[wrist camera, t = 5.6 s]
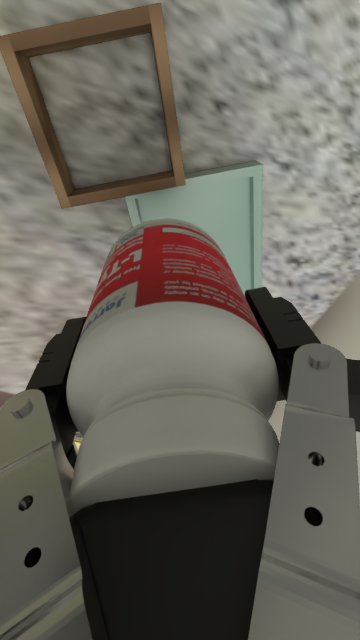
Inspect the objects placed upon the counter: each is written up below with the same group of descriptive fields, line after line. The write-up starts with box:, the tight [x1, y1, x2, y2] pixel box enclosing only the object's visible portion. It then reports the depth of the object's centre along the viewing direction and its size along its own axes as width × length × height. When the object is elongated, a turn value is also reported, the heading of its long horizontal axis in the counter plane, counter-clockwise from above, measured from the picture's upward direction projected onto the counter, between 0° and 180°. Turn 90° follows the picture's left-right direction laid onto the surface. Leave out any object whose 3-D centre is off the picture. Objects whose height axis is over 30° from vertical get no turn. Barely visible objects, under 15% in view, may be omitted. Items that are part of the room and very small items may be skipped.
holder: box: [0, 3, 186, 209], centre depth 22 cm, size 11×11×3 cm
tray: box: [125, 161, 263, 296], centre depth 30 cm, size 16×12×2 cm
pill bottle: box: [66, 218, 279, 513], centre depth 11 cm, size 6×6×11 cm
